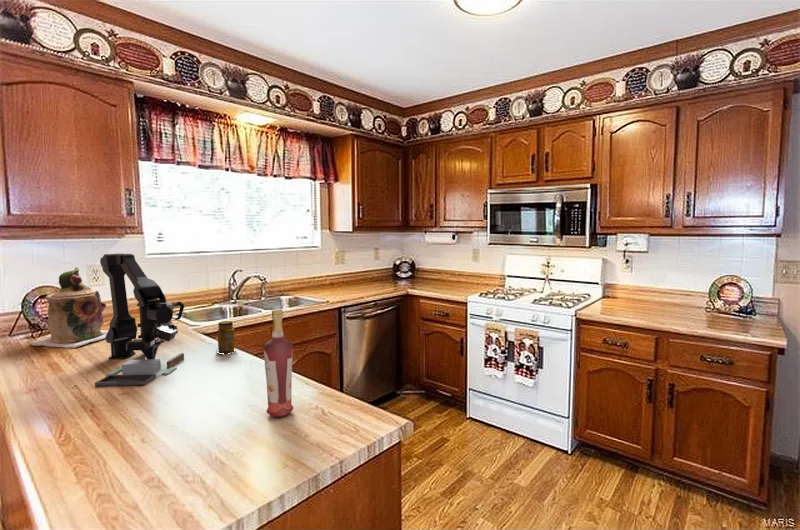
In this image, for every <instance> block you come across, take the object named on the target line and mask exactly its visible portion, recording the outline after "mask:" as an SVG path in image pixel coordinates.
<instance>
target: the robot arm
mask: <svg viewBox="0 0 800 530" xmlns="http://www.w3.org/2000/svg"><path fill="white" fill-rule="evenodd" d="M99 262H100V267H102V272H103V273H104V275H106V276H107V277H108V279H109V280H108V281H109V288H110V296H111V304H112V312H113V313H112V314H113V316H112V319H111V320H110V322H109V329H108V330H107V331H108V333H107V335H106V337H105V341H106V343H107V344H108V343H109V344H110V352H111V353H110V356H109V357H108V359H111V360H112V359H113V360H114V359H116V360H117V359H128V358H129V357H131V356H133V355H136V351H141V352H142V354H144V355H145V359H156V356H157V352H158V349H159V347H160V345H162V344H163V343H164V341H165V342H170V341H172V340H174V339H175V337H176V335H177V334H178V333H179V332H178V331H179V330H178V325H177V324H174V323H173V324H172V325H170V326H169V327H168V326H163V324H162V323H168V322H169V321H170V320H171V321H172V319H173V318H174V317H173V316H174V311H173V312H172V310H171V309H170V308H169V307H167V304H166V302H167V297H166V295H165V294H164V292H163V290H162V288H161V286H160V285H159V284H158V283H157V282H156V281H155V280H153V279H151V278H148V277H147V275H146V274H145V272H144V271H143V270H142V268H141V265H139V263H138V262H137V260H136V257H135V255H134V254H133V253H123V252H122V253H106V254H103V256H102V257H100V261H99ZM125 275H126V277H128V279H129V281H130V282H131V284H132V286H133V291H132V293H133V296H134V298H135V299H136V301H137V302H138V303H137V305H136V307H138V309H139V323H138V324H137V323H136V321H137V319H136V318H135V317H133V316H132V315H131V314H130V313H129V305H128V298H127V297H128V296H127V288H126V281H125ZM138 328H140V329H139V330H140V334H139V335H138ZM159 338H160V339H159Z"/></svg>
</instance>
